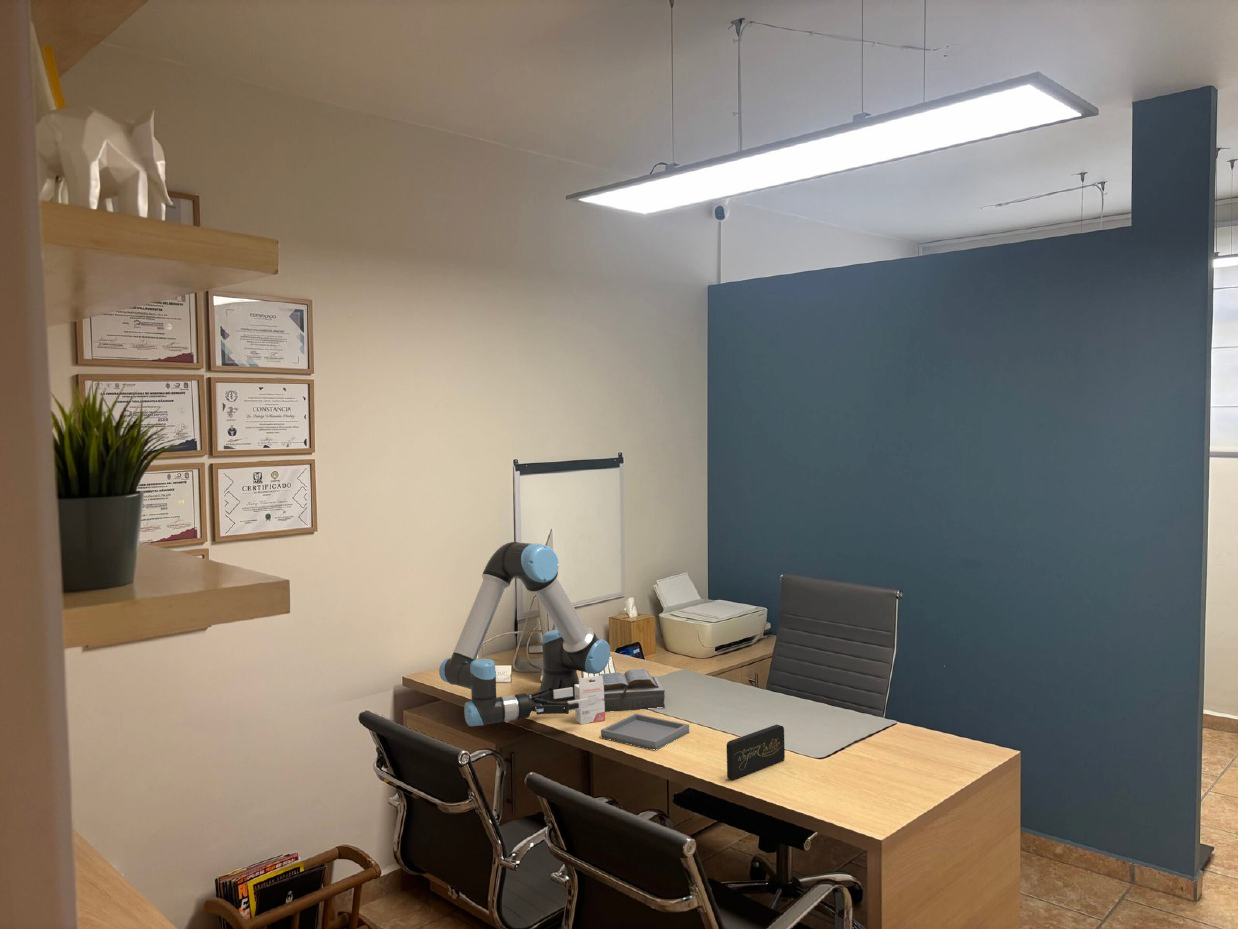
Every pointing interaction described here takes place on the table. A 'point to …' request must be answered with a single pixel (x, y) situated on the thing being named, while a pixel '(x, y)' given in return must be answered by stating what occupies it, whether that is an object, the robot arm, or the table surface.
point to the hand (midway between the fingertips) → (580, 697)
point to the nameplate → (755, 752)
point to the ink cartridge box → (590, 699)
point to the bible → (632, 691)
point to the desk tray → (645, 731)
